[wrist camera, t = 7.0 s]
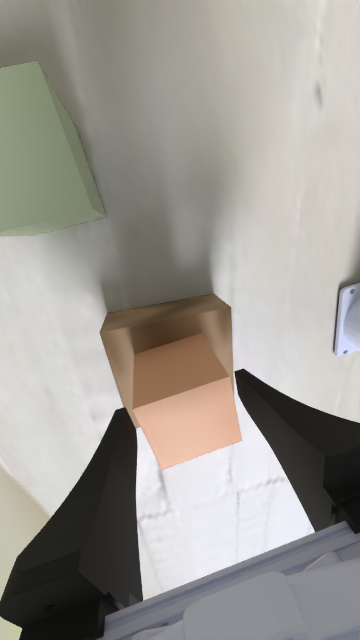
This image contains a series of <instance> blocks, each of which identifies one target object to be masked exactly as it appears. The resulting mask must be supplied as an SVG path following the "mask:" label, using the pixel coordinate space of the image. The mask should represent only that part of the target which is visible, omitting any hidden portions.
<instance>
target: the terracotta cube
mask: <svg viewBox="0 0 360 640" xmlns="http://www.w3.org/2000/svg"><path fill="white" fill-rule="evenodd" d="M132 410H133V412H134V414H135V416H136V418H137V420H138V422H139V424H140V426H141V429H142V431H143V433H144V435H145V437H146V439H147V441H148V443H149V445H150V447H151V449H152V451H153V453H154V455H155V457H156V459H157V461H158V463H159V465H160V468H161V470H164V469H166V468H169V467H172V466H174V465H177V464H180V463H183V462H185V461H188V460H191V459H194V458H196V457H199V456H202V455H204V454H207V453H210V452H213V451H215V450H218V449H221V448H223V447H226V446H229V445H232V444H234V443H237V442H240V441H242V437H241V432H240V426H239V421H238V416H237V411H236V406H235V400H234V395H233V390H232V385H231V380H230V376H229V374H228V373H227V371H226V370H225V368H224V367H223V365H222V363H221V362H220V360H219V359H218V357H217V356H216V354H215V353H214V351H213V350H212V348H211V347H210V345H209V344H208V342H207V340H206V339H205V337H204V336H203V334H202V333H200V334H197V335H194V336H190V337H187V338H184V339H181V340H178V341H175V342H172V343H169V344H166V345H162V346H159V347H156V348H153V349H150V350H147V351H144V352H141V353H138V354H135V355H134V370H133V403H132Z"/></svg>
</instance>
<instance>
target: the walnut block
mask: <svg viewBox="0 0 360 640" xmlns="http://www.w3.org/2000/svg"><path fill="white" fill-rule="evenodd" d="M200 333H202V334H203V336H204V337H205V339H206V340H207V342H208V344H209V345H210V347H211V348H212V350H213V351H214V353H215V354H216V356H217V357H218V359H219V360H220V362H221V363H222V365H223V367H224V368H225V370H226V371H227V373H228V374H229V376H230V380H231V385H232V390H233V395H234V381H233V351H232V320H231V307H230V306H229V305H228V304H226V303H225V302H224V301H222V300H221V299H220V298H219V297H217V296H216V295H215V294H209V295H204V296H199V297H193V298H188V299H182V300H177V301H171V302H166V303H161V304H155V305H150V306H144V307H139V308H133V309H128V310H123V311H117V312H112V313H107V315H106V318H105V320H104V323H103V325H102V328H101V330H100V336H101V339H102V342H103V345H104V348H105V351H106V354H107V357H108V360H109V363H110V367H111V370H112V373H113V376H114V379H115V382H116V385H117V388H118V391H119V394H120V397H121V401H122V404H123V407H126V409H127V411H128V413H129V415H130V417H131V419H132V422H133V424H134V426H135V428H138V427H141V426H140V424H139V422H138V420H137V418H136V416H135V414H134V412H133V410H132V403H133V370H134V355H135V354H138V353H141V352H144V351H147V350H150V349H153V348H156V347H159V346H162V345H166V344H169V343H172V342H175V341H178V340H181V339H184V338H187V337H190V336H194V335H197V334H200Z"/></svg>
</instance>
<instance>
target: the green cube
mask: <svg viewBox="0 0 360 640" xmlns="http://www.w3.org/2000/svg"><path fill="white" fill-rule="evenodd" d="M105 217H107V216H106V213H105V210H104V207H103V204H102V201H101V199H100V196H99V193H98V190H97V187H96V184H95V181H94V178H93V176H92V173H91V170H90V167H89V164H88V161H87V158H86V155H85V153H84V150H83V147H82V144H81V141H80V138H79V135H78V133H77V130H76V127H75V124H74V122H73V121H72V119H71V117H70V115H69V114H68V112H67V110H66V109H65V107H64V105H63V103H62V102H61V100H60V98H59V96H58V95H57V93H56V91H55V89H54V88H53V86H52V84H51V83H50V81H49V79H48V77H47V76H46V74H45V72H44V70H43V69H42V67H41V65H40V64H39V62H38V61H33V62H28V63H23V64H17V65H12V66H7V67H2V68H0V236H35V235H39V234H43V233H46V232H50V231H54V230H58V229H62V228H66V227H70V226H74V225H78V224H82V223H86V222H90V221H93V220H97V219H101V218H105Z"/></svg>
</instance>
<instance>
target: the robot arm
mask: <svg viewBox="0 0 360 640" xmlns="http://www.w3.org/2000/svg"><path fill="white" fill-rule="evenodd" d="M357 351H360V283H356V284H353V285H350V286H347V287H344V288H343V289H341V291H340V296H339V307H338V318H337V329H336V340H335V351H334V354H335V355H336V356H337V357H342V356H345V355H348V354H351V353H354V352H357ZM235 378H236V384H237V390H238V395H239V397H240V399H241V401H242V403H243V405H244V407H245V409H246V410H247V412H248V414H249V415H250V417H251V418H252V419H253V421H254V422H255V424H256V425H257V427H258V428H259V430H260V431H261V433H262V434H263V436H264V437H265V439H266V440H267V442H268V443H269V445H270V447H271V448H272V450H273V452H274V454H275V455H276V457H277V459H278V461H279V463H280V464H281V466H282V468H283V470H284V472H285V474H286V476H287V477H288V479H289V481H290V483H291V485H292V487H293V489H294V491H295V493H296V495H297V497H298V498H299V500H300V502H301V504H302V506H303V508H304V510H305V512H306V514H307V516H308V518H309V520H310V522H311V524H312V526H313V528H314V530H315V533H313V534H310V535H308V536H305V537H303V538H300V539H298V540H295V541H293V542H290V543H288V544H285V545H283V546H280V547H278V548H275V549H273V550H270V551H268V552H265V553H263V554H260V555H257V556H255V557H252V558H250V559H247V560H245V561H242V562H240V563H237V564H235V565H232V566H230V567H227V568H225V569H222V570H220V571H217V572H215V573H212V574H210V575H207V576H205V577H202V578H200V579H197V580H195V581H192V582H190V583H187V584H185V585H182V586H180V587H177V588H175V589H172V590H170V591H167V592H165V593H162V594H160V595H157V596H155V597H152V598H150V599H147V600H145V601H143V594H142V583H141V573H140V561H139V548H138V533H137V516H136V470H137V434H136V428H135V426H134V424H133V422H132V419H131V417H130V415H129V413H128V411H127V409H126V407H124V408H121V409H118V410H116V411H115V412H114V415H113V417H112V419H111V421H110V423H109V426H108V428H107V430H106V432H105V434H104V436H103V438H102V440H101V442H100V444H99V446H98V448H97V450H96V452H95V454H94V455H93V457H92V459H91V461H90V463H89V464H88V466H87V468H86V469H85V471H84V473H83V474H82V476H81V477H80V479H79V480H78V482H77V483H76V485H75V486H74V488H73V489H72V491H71V492H70V493H69V495H68V496H67V498H66V499H65V500H64V502H63V503H62V504H61V506H60V507H59V508H58V510H57V511H56V512H55V513H54V515H53V516H52V517H51V518H50V520H49V521H48V522H47V523H46V525H45V526H44V527H43V528H42V529H41V531H40V532H39V533H38V534H37V535H36V536H35V537H34V539H33V540H32V541H31V542H30V543H29V544H28V545H27V547H26V548H25V549H24V550H23V551H22V552H21V553H20V555H18V557H17V559H16V561H15V564H14V566H13V569H12V571H11V574H10V576H9V579H8V582H7V584H6V587H5V590H4V593H3V595H2V598H1V601H0V616H1V617H2V618H3V619H5V620H7V621H9V622H11V623H13V624H15V625H17V626H19V627H21V628H22V632H21V635H20V639H19V640H360V423H358V422H354V421H350V420H347V419H343V418H340V417H337V416H334V415H331V414H328V413H325V412H323V411H320V410H318V409H315V408H312V407H310V406H307V405H305V404H303V403H301V402H299V401H296V400H294V399H292V398H290V397H288V396H286V395H285V394H283V393H281V392H279V391H277V390H276V389H274V388H272V387H271V386H269V385H267V384H266V383H264V382H263V381H261V380H260V379H258V378H257V377H255V376H254V375H252V374H251V373H249V372H248V371H246V370H245V369H241V370H237V371H235Z"/></svg>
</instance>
